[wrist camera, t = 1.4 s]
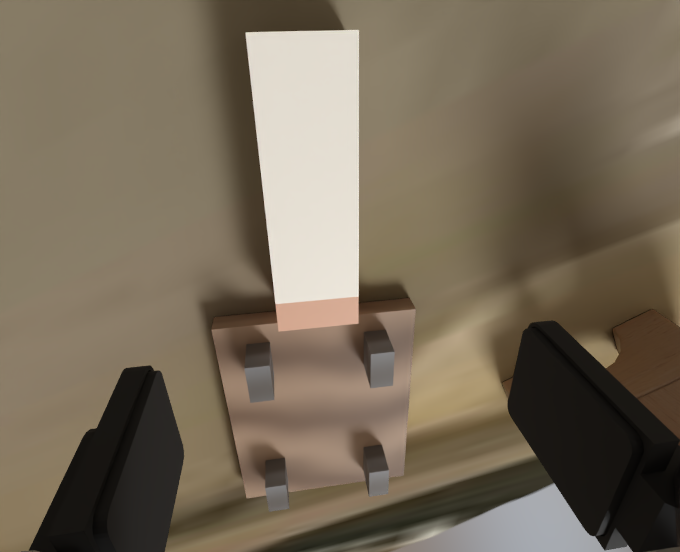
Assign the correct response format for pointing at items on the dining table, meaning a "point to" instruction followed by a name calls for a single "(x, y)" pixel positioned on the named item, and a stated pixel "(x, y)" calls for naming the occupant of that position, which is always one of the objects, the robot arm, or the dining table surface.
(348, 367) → the brown fixture board
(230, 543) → the dining table surface
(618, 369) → the wooden toy
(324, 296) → the block
